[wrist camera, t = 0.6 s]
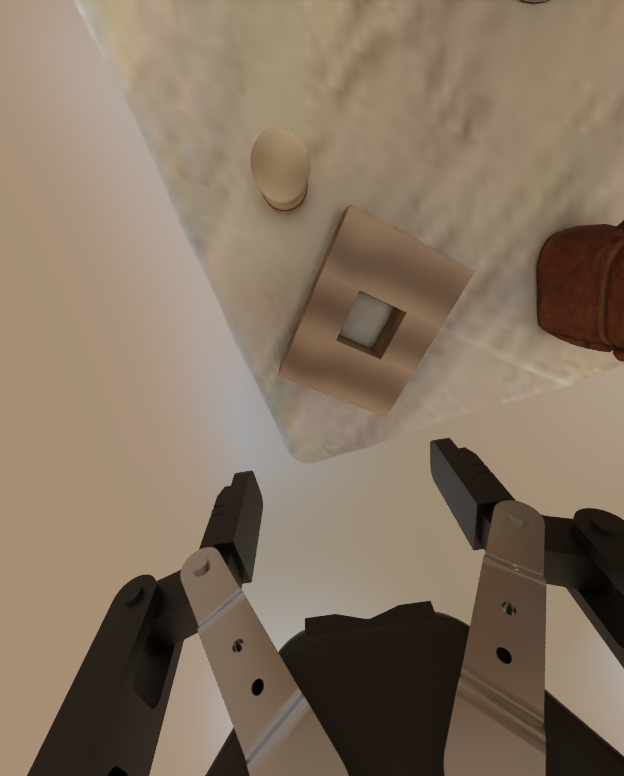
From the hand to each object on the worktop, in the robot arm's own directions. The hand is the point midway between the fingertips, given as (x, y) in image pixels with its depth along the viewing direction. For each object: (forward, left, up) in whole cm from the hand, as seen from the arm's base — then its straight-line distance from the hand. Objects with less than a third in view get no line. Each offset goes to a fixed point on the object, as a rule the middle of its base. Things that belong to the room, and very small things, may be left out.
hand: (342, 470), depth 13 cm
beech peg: (-12, -9, -24) cm, 28 cm away
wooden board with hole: (-4, +4, -24) cm, 25 cm away
